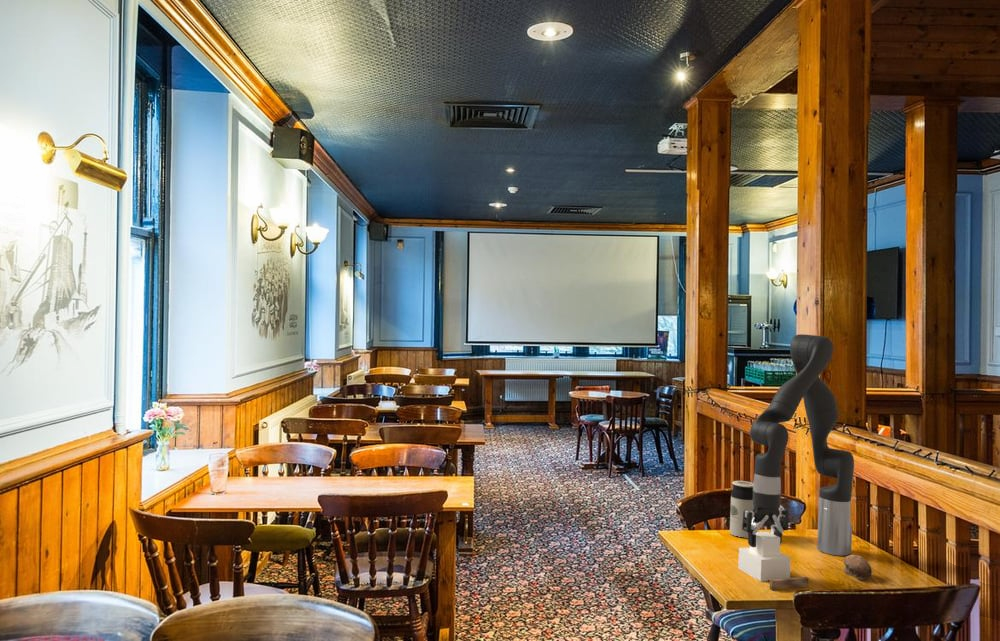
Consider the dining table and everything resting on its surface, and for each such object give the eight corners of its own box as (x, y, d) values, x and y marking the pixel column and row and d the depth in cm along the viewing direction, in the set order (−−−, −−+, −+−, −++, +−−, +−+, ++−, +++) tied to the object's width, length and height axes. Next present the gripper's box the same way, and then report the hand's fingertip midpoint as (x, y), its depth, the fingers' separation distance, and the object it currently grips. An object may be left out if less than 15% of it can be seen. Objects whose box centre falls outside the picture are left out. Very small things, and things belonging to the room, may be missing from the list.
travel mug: (748, 531, 232) (750, 480, 233) (757, 539, 224) (759, 486, 225) (726, 531, 232) (728, 480, 232) (734, 538, 224) (736, 485, 224)
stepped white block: (766, 566, 198) (767, 528, 198) (789, 578, 189) (791, 539, 189) (738, 568, 195) (739, 530, 196) (760, 581, 186) (762, 541, 186)
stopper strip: (805, 585, 184) (805, 576, 184) (808, 587, 183) (808, 578, 183) (769, 588, 181) (769, 579, 181) (772, 590, 180) (772, 581, 180)
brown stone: (833, 558, 198) (847, 546, 195) (856, 569, 198) (870, 556, 195) (842, 580, 191) (856, 567, 188) (865, 591, 191) (880, 578, 188)
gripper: (778, 486, 198) (776, 540, 198) (737, 487, 194) (735, 542, 194) (796, 492, 190) (794, 548, 190) (754, 494, 186) (752, 551, 186)
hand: (764, 545), depth 192 cm, fingers open, 8 cm apart
